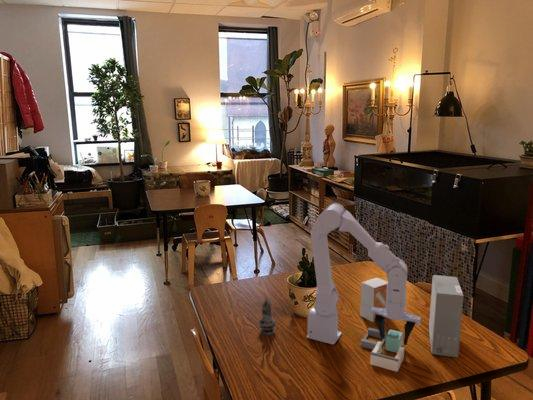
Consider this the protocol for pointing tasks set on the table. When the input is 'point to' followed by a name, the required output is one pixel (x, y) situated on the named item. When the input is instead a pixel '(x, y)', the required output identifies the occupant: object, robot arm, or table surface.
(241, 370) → the table surface
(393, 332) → the plug
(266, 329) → the grey ridged spire
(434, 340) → the hard drive box
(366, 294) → the small box
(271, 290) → the table surface
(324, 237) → the robot arm
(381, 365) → the port
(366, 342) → the frame
